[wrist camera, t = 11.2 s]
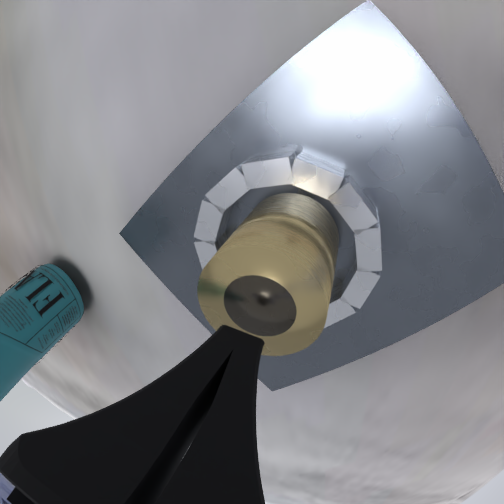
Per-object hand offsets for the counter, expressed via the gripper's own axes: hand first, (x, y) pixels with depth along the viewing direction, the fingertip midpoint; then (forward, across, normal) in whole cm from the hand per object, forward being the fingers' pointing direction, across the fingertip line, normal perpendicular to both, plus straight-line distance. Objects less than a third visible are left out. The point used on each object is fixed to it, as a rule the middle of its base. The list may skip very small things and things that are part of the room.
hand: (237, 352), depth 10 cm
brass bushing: (+8, 0, 0) cm, 8 cm away
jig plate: (+9, -1, 0) cm, 10 cm away
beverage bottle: (+10, +18, +12) cm, 24 cm away
